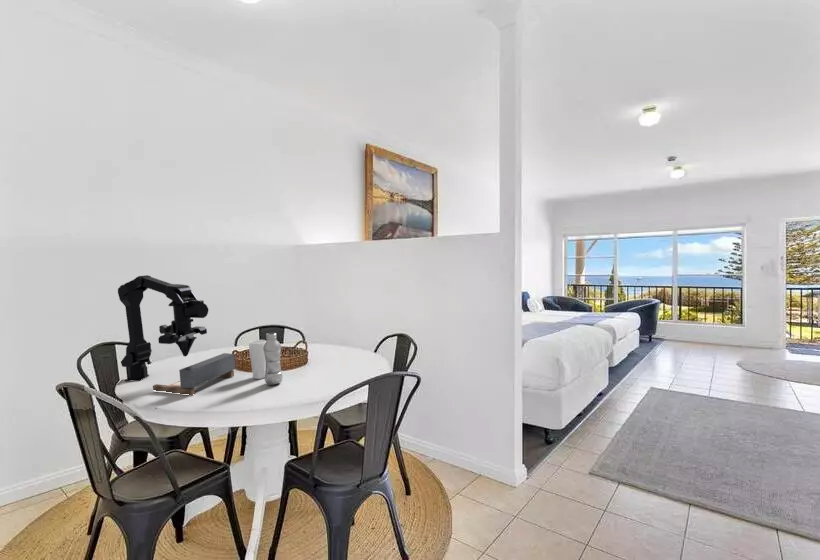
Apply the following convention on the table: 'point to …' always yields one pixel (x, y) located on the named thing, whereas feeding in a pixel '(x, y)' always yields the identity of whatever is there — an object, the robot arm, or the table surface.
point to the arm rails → (181, 389)
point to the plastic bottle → (272, 360)
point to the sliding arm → (206, 370)
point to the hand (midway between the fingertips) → (185, 356)
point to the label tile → (176, 384)
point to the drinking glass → (257, 358)
